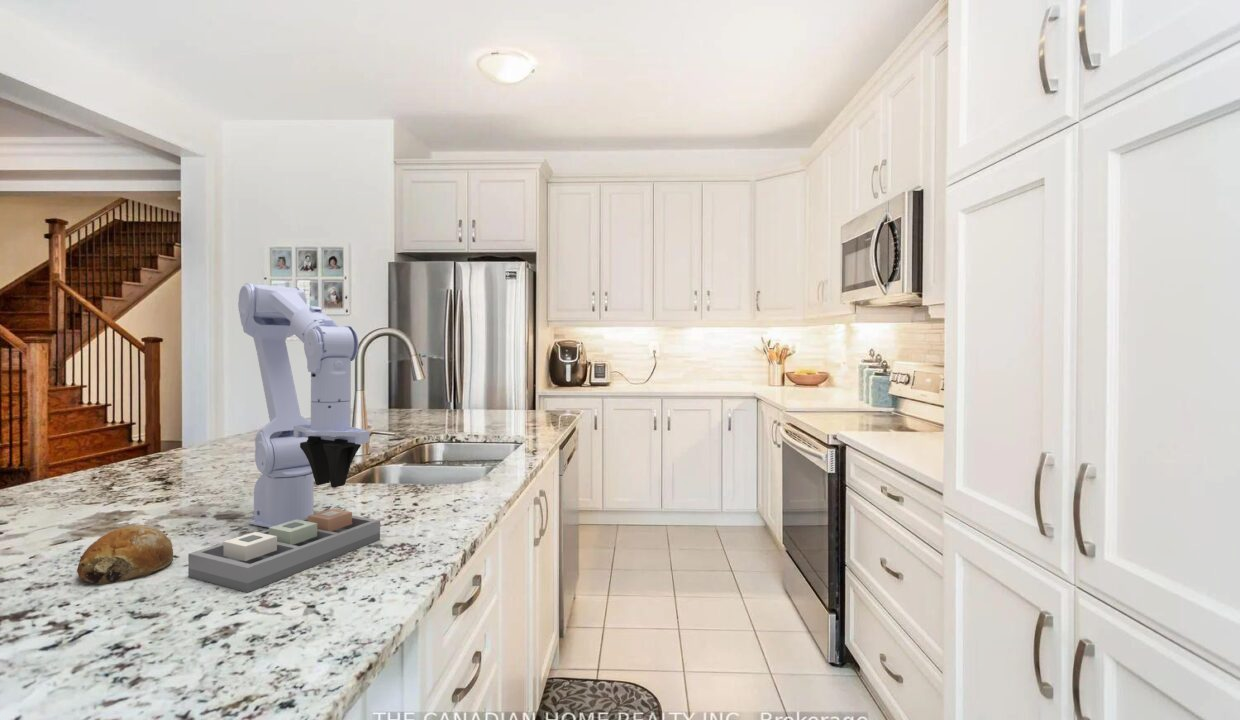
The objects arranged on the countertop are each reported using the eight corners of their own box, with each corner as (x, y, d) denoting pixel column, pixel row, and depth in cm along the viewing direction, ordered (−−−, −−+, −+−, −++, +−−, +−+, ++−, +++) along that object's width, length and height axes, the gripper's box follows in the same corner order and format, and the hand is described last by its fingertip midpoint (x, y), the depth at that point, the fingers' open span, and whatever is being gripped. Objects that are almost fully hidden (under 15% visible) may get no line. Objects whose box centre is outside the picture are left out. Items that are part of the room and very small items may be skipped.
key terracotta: (307, 528, 89) (307, 515, 89) (331, 520, 93) (332, 507, 93) (328, 532, 87) (328, 518, 87) (352, 524, 92) (352, 511, 92)
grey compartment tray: (188, 576, 76) (188, 553, 76) (327, 529, 97) (327, 511, 97) (247, 592, 72) (247, 568, 72) (380, 539, 92) (380, 520, 92)
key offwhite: (223, 555, 77) (223, 540, 77) (255, 545, 81) (255, 531, 81) (245, 561, 75) (245, 545, 75) (277, 550, 80) (277, 535, 80)
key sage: (268, 541, 83) (268, 527, 83) (296, 532, 87) (296, 518, 87) (290, 545, 81) (290, 531, 81) (317, 536, 86) (317, 522, 86)
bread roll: (176, 592, 80) (201, 534, 83) (98, 588, 71) (129, 523, 74) (131, 581, 83) (156, 526, 86) (50, 576, 74) (81, 515, 77)
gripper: (276, 400, 89) (275, 485, 89) (343, 405, 83) (342, 496, 84) (315, 397, 95) (314, 476, 96) (380, 401, 90) (379, 485, 90)
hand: (330, 484), depth 90 cm, fingers open, 3 cm apart
